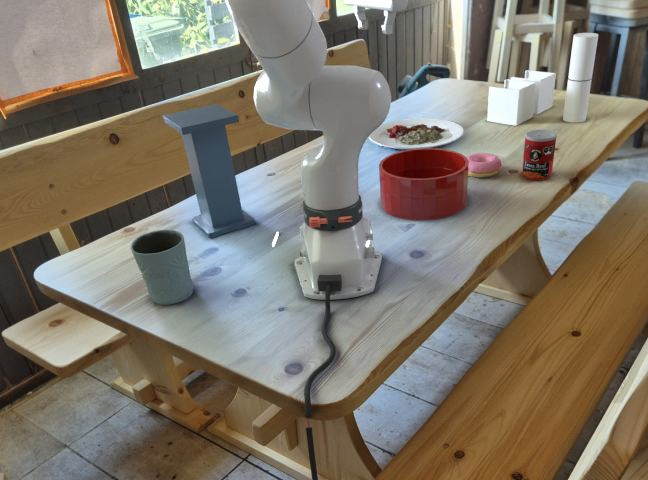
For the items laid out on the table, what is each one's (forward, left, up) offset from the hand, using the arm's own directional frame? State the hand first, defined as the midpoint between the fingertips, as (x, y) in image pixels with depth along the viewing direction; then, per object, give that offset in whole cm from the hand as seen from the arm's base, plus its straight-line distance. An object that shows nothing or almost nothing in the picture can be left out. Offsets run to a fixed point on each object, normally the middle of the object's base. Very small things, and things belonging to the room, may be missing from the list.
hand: (375, 31), depth 129 cm
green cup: (-38, +46, -39) cm, 71 cm away
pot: (-2, -10, -39) cm, 40 cm away
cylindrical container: (+55, -67, -39) cm, 95 cm away
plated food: (+49, -14, -39) cm, 64 cm away
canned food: (+9, -42, -39) cm, 58 cm away
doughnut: (+15, -28, -39) cm, 50 cm away
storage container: (+66, -52, -39) cm, 93 cm away
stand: (-5, +40, -39) cm, 56 cm away
